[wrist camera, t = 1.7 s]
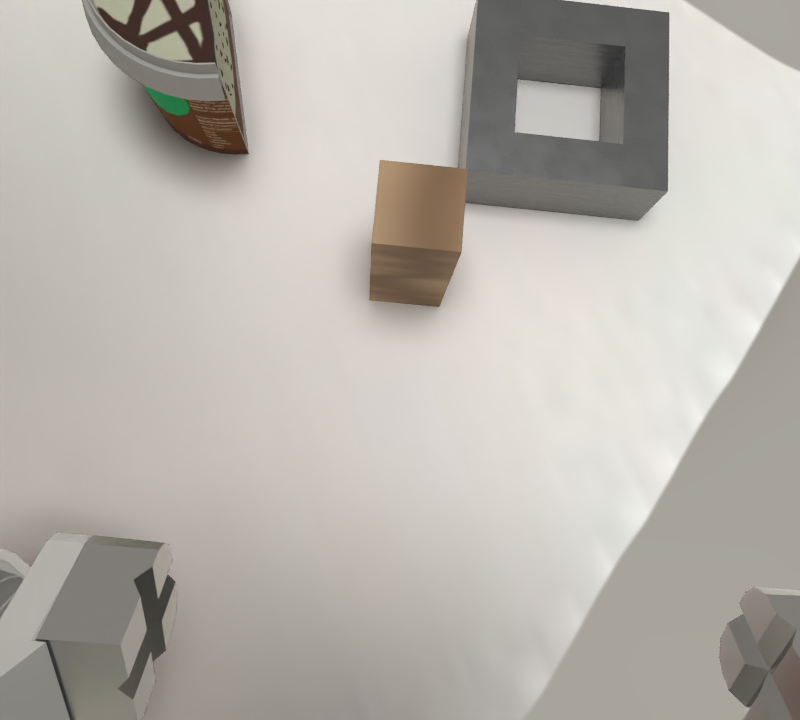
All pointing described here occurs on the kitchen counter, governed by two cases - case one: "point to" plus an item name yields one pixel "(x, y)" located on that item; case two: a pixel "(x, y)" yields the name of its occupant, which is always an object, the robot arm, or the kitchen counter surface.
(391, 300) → the walnut key peg
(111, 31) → the food container
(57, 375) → the kitchen counter surface
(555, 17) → the steel socket
